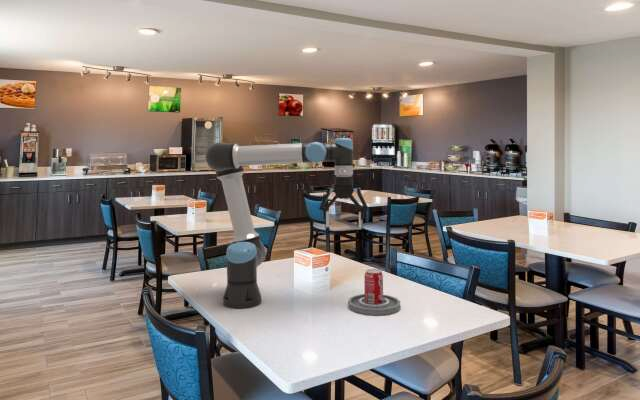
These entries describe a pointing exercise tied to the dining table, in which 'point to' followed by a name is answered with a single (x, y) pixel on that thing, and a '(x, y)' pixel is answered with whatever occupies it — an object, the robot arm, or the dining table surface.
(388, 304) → the tray
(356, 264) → the dining table surface
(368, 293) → the soda can
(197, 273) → the dining table surface
